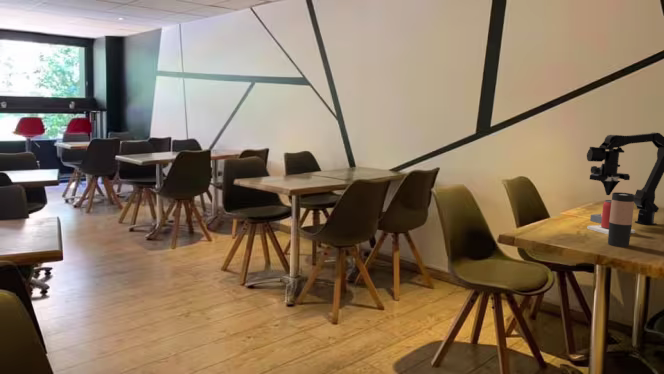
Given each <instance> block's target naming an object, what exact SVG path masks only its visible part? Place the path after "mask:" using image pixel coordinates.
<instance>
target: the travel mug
mask: <svg viewBox="0 0 664 374" xmlns="http://www.w3.org/2000/svg"><path fill="white" fill-rule="evenodd" d="M611 193H612V194H611V195H612V196H611V200H612V202H611V211H610V220H609V234H607V244H608V245H610V246H613V247H617V248H618V247H619V248H628V247H629V245H630V240H631V234H632V233H631V229H632V226H633V218H634V206H635V205H634V204H635V203H634V198H635V194H633V193H629V192H618V191H617V192H611Z"/></svg>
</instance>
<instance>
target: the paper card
mask: <svg viewBox="0 0 664 374" xmlns="http://www.w3.org/2000/svg"><path fill="white" fill-rule="evenodd" d="M587 229H588V230H591V231H595V232H598V233H600V234H601V233H602V234H605V235H608V234H609V229H605V228H602V227H601V224H599V225H587ZM635 233H636V230H635V229H632V228H631V234H635Z"/></svg>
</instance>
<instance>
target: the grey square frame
mask: <svg viewBox="0 0 664 374" xmlns="http://www.w3.org/2000/svg"><path fill="white" fill-rule="evenodd" d="M589 221H590V222H593V223H599V224H601V221H602V216H601V213H595V214H590V220H589Z"/></svg>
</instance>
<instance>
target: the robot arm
mask: <svg viewBox="0 0 664 374" xmlns="http://www.w3.org/2000/svg"><path fill="white" fill-rule="evenodd" d="M649 142H650V143H652V144H653V145H654V146H655V147H656V148H657V151H656V158H657V159H656V161H655V163H654V166H653V167H652V170H651V172H650V173H649V176H648V178H647V179H646V181H645V183H644V186H643V187H642V188H641V189H636V190H635V194H634V195H635V198H634V204H635V206H636V209H637V210H638V215H637V220H635V221H634V223H637V224H641V225H646V226H649V225H657V222H654V221H655V213H658V212H659V209H660V208H659V207H658V206H657V205H656V203H655V200H656V191H657V188H658V185H659V183H660V181H661V180H662V177H663V175H664V135H663V134H661V133H660V132H650V133H648V132H647V133H641V134H631V135H629V134H628V135H621V134H608V135H606V137H605V138H604V140H603V142H602V143H601V144H600V146H598V147H596V146H589V149H588V151H587V153H586V161H587V162H598V163H599V162H602V163H601V166H595V165H593V166H591V167H590V173H591V174H589V180H592V181H597V182H601V183H602V185H603V187H604V191H605V195H606V196H610V195H612V194H611V193H613V191H614V189H615V188H616V186H617V185H618V184H619V183H620V182H621V180H623V181H630V179H631V178H630V177H631V175H630V174H629V173H624V172H623V173H622V172H618V169H619V168H620V167H621V164H619V158H620V154H621V153H625V150H624V149H622V147H625V146H627V145H631V144H639V143H640V144H641V143H649ZM603 161H604V162H603ZM619 179H621V180H619Z"/></svg>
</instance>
